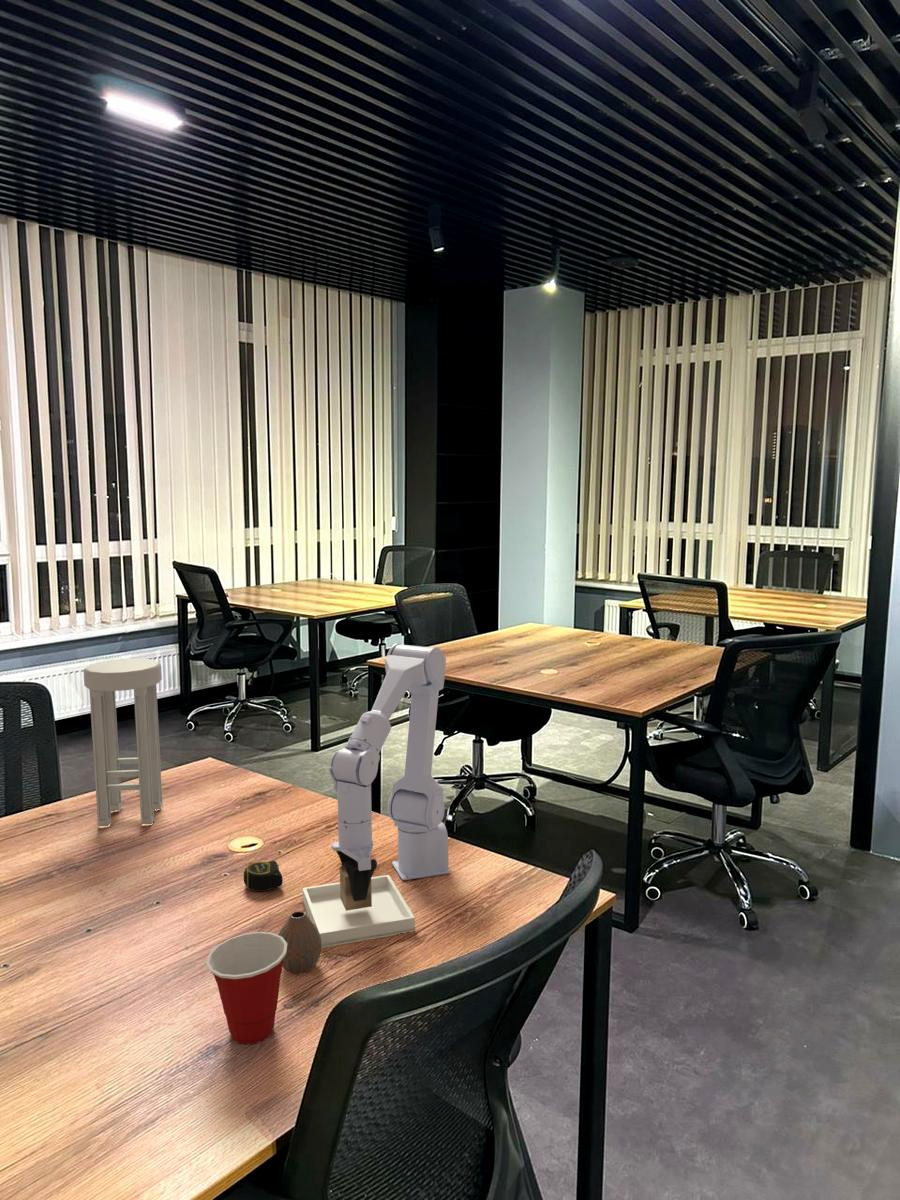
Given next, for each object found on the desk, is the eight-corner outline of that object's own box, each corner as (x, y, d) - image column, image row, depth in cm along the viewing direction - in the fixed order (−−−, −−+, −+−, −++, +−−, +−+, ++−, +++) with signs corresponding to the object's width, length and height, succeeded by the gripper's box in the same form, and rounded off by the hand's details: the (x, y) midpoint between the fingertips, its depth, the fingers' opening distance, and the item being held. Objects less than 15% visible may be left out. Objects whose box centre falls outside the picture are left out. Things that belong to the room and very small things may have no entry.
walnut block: (365, 895, 156) (365, 862, 155) (371, 906, 151) (371, 873, 151) (340, 898, 154) (339, 866, 153) (345, 910, 150) (345, 877, 149)
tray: (389, 887, 164) (388, 874, 163) (415, 931, 148) (414, 917, 147) (302, 901, 159) (302, 887, 158) (320, 948, 143) (319, 933, 142)
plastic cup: (207, 1017, 125) (203, 937, 123) (284, 1002, 128) (282, 924, 126) (211, 1065, 114) (207, 978, 113) (295, 1048, 118) (292, 964, 116)
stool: (105, 806, 205) (96, 658, 200) (173, 803, 207) (166, 656, 202) (85, 832, 190) (75, 673, 185) (159, 829, 192) (151, 671, 187)
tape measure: (283, 892, 163) (283, 872, 162) (245, 897, 161) (244, 877, 160) (279, 876, 169) (278, 857, 169) (242, 881, 167) (241, 862, 167)
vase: (329, 959, 139) (328, 907, 138) (309, 983, 133) (307, 928, 132) (290, 952, 142) (289, 900, 140) (268, 975, 135) (266, 921, 134)
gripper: (323, 805, 156) (325, 878, 158) (340, 836, 143) (342, 916, 145) (362, 800, 159) (364, 872, 160) (382, 831, 145) (384, 909, 147)
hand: (356, 892), depth 153 cm, fingers closed on walnut block, 4 cm apart
